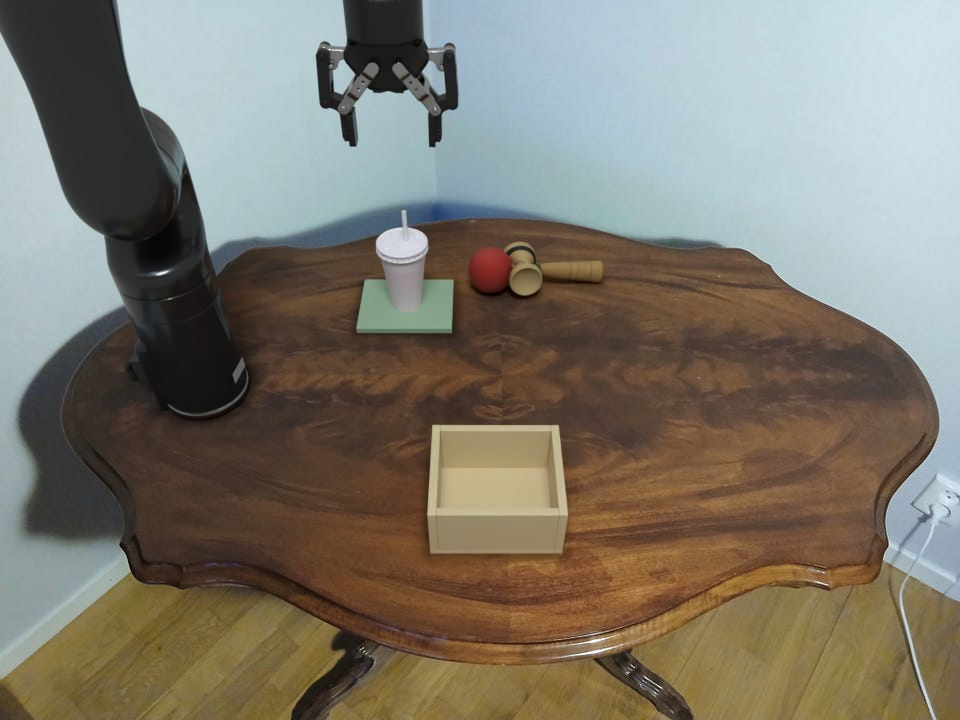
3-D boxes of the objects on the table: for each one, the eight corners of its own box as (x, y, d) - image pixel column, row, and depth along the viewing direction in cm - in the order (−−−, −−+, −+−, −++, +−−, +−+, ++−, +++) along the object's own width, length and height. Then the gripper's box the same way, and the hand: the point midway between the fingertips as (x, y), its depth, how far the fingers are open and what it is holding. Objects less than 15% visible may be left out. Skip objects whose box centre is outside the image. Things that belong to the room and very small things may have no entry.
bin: (430, 553, 69) (427, 515, 65) (434, 464, 77) (432, 424, 72) (562, 553, 70) (568, 515, 65) (553, 464, 77) (558, 424, 73)
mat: (356, 333, 92) (356, 328, 91) (365, 283, 99) (364, 279, 98) (451, 333, 92) (451, 328, 91) (453, 284, 99) (453, 279, 98)
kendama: (586, 267, 104) (462, 262, 100) (600, 235, 99) (469, 229, 95) (597, 309, 100) (468, 305, 96) (612, 278, 94) (475, 273, 91)
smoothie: (424, 322, 92) (418, 229, 82) (375, 315, 93) (364, 222, 83) (436, 291, 97) (432, 199, 87) (390, 285, 98) (380, 193, 88)
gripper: (458, -29, 71) (459, 128, 82) (311, -31, 70) (332, 127, 82) (457, -2, 65) (458, 162, 77) (297, -5, 65) (322, 160, 76)
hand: (393, 143), depth 79 cm, fingers open, 8 cm apart
